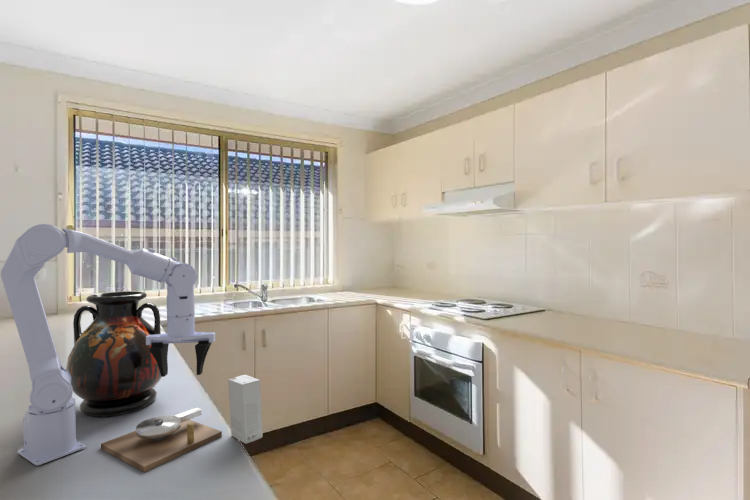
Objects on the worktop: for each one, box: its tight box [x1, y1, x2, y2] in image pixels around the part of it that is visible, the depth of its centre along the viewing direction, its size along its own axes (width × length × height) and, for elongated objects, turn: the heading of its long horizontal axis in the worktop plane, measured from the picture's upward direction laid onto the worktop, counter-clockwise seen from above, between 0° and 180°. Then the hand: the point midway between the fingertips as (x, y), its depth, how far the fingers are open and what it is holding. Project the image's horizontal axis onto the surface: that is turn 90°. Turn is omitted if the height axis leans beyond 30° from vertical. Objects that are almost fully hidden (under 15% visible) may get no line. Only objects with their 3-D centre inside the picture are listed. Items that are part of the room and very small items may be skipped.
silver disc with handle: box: [135, 407, 202, 439], centre depth 86 cm, size 13×8×2 cm, turn 147°
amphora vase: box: [65, 290, 163, 418], centre depth 104 cm, size 22×22×28 cm
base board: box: [100, 419, 223, 473], centre depth 84 cm, size 16×16×4 cm
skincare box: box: [227, 374, 264, 444], centre depth 86 cm, size 6×4×12 cm
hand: (182, 374), depth 95 cm, fingers open, 7 cm apart
